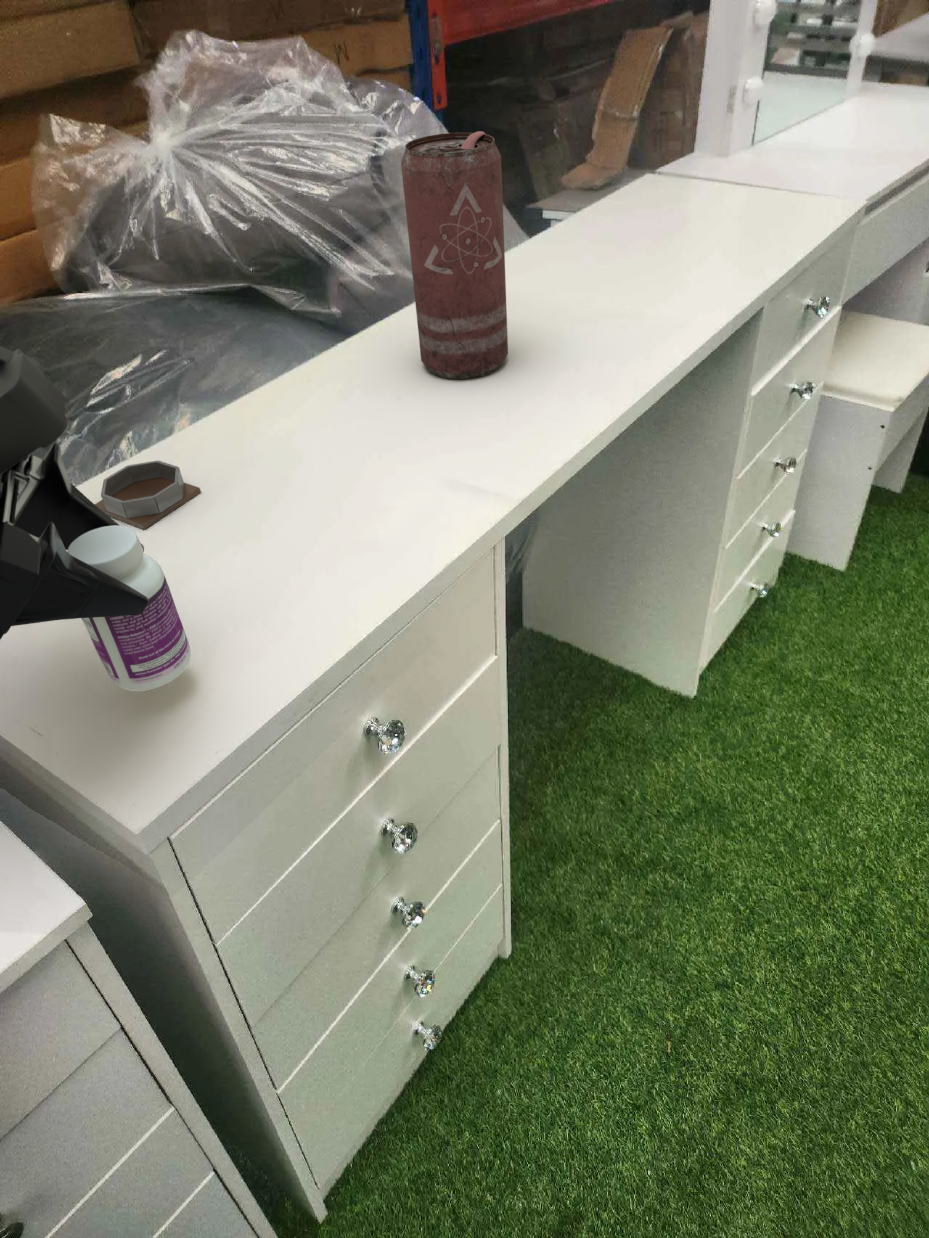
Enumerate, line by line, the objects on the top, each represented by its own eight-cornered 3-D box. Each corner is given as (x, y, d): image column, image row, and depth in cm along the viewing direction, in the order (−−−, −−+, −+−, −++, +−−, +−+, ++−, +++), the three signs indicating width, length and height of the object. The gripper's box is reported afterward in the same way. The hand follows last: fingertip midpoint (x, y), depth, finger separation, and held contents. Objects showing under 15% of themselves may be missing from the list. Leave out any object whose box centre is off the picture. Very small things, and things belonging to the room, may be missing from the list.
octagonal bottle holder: (144, 530, 73) (136, 508, 72) (93, 510, 76) (85, 490, 75) (201, 492, 77) (195, 471, 76) (150, 475, 80) (143, 455, 79)
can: (526, 352, 95) (521, 131, 81) (477, 388, 89) (462, 155, 75) (456, 338, 100) (440, 125, 86) (404, 371, 94) (378, 148, 80)
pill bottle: (204, 639, 58) (163, 518, 52) (176, 695, 54) (128, 571, 48) (127, 637, 59) (78, 517, 53) (94, 692, 55) (37, 570, 48)
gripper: (-115, 404, 34) (235, 566, 43) (-55, 264, 47) (200, 410, 57) (-225, 611, 37) (121, 719, 46) (-140, 424, 51) (114, 536, 60)
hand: (143, 579), depth 52 cm, fingers closed on pill bottle, 5 cm apart
